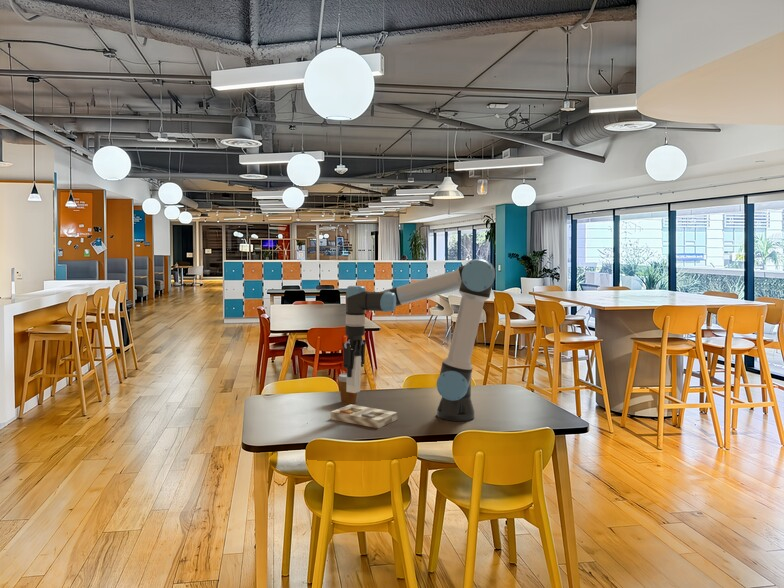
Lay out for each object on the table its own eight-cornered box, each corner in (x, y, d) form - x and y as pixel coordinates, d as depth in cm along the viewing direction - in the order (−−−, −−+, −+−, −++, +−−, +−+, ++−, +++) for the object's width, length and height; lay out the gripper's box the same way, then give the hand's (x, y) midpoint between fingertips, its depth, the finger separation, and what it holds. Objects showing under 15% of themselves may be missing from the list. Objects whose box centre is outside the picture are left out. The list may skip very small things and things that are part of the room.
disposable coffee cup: (362, 401, 272) (362, 374, 271) (355, 406, 263) (355, 378, 262) (342, 399, 275) (342, 372, 274) (334, 404, 266) (334, 376, 265)
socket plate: (397, 419, 243) (397, 410, 243) (378, 428, 231) (379, 418, 231) (350, 411, 254) (350, 402, 254) (330, 419, 242) (330, 409, 242)
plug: (360, 391, 245) (361, 356, 244) (354, 393, 242) (355, 357, 241) (351, 389, 247) (352, 355, 246) (346, 391, 244) (347, 356, 243)
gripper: (358, 322, 252) (357, 379, 253) (334, 326, 237) (333, 386, 239) (374, 324, 248) (373, 381, 250) (350, 328, 233) (349, 389, 235)
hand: (353, 383), depth 244 cm, fingers closed on plug, 4 cm apart
